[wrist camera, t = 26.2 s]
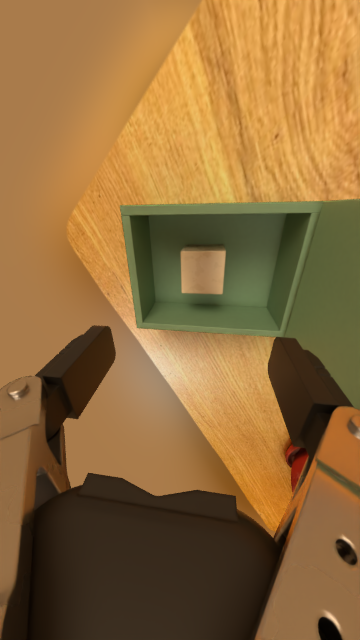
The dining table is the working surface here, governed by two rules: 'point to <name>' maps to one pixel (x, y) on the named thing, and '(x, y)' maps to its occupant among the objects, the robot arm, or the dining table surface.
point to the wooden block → (203, 268)
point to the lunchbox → (240, 264)
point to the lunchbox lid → (332, 296)
